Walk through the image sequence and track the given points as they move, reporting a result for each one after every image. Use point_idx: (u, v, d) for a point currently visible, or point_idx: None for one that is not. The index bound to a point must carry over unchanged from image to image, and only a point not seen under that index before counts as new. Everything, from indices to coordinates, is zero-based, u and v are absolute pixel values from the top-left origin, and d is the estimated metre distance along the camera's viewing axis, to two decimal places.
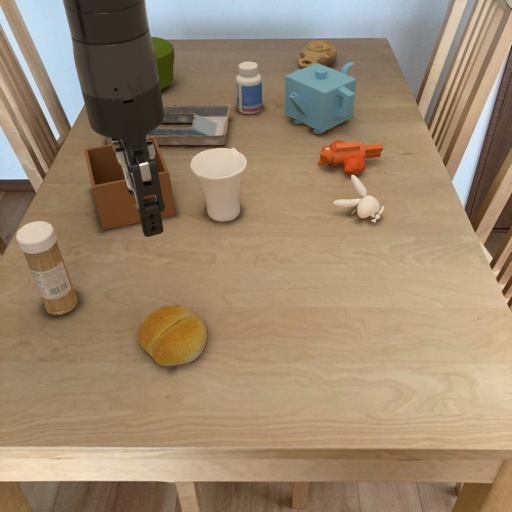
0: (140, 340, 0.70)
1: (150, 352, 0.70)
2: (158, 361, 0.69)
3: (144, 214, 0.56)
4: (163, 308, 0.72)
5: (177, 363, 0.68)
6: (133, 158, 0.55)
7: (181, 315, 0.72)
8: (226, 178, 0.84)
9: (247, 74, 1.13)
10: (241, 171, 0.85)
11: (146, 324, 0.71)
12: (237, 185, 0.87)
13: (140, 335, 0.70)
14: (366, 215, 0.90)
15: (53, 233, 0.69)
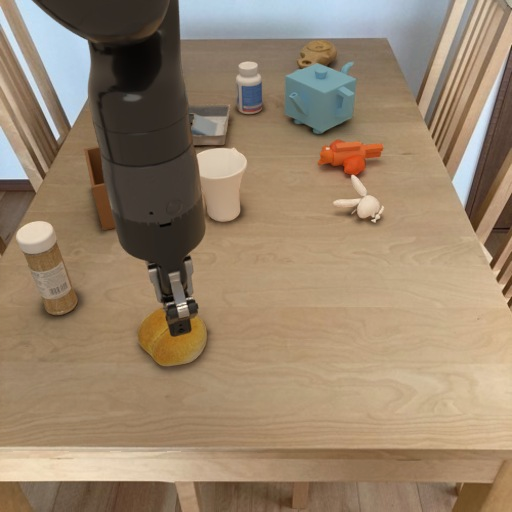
0: (140, 340, 0.70)
1: (150, 352, 0.70)
2: (158, 361, 0.69)
3: (172, 322, 0.51)
4: None
5: (177, 363, 0.68)
6: (169, 288, 0.47)
7: None
8: (226, 178, 0.84)
9: (247, 74, 1.13)
10: (241, 171, 0.85)
11: (146, 324, 0.71)
12: (237, 185, 0.87)
13: (140, 335, 0.70)
14: (366, 215, 0.90)
15: (53, 233, 0.69)
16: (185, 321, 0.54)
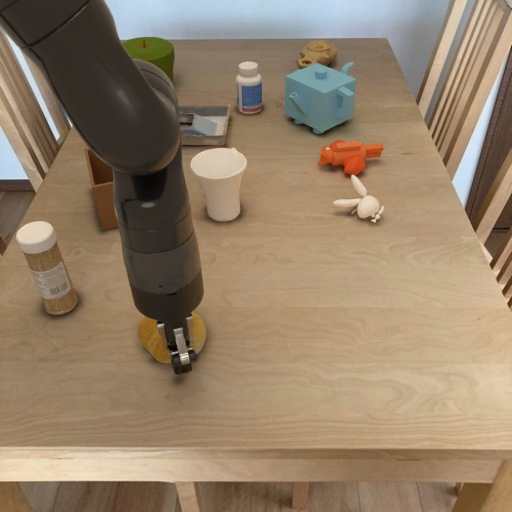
0: (140, 337, 0.71)
1: (150, 349, 0.70)
2: (158, 358, 0.69)
3: None
4: None
5: None
6: (174, 341, 0.58)
7: None
8: (226, 178, 0.84)
9: (247, 74, 1.13)
10: (241, 171, 0.85)
11: (146, 322, 0.71)
12: (237, 185, 0.87)
13: (140, 333, 0.71)
14: (366, 215, 0.90)
15: (53, 233, 0.69)
16: None
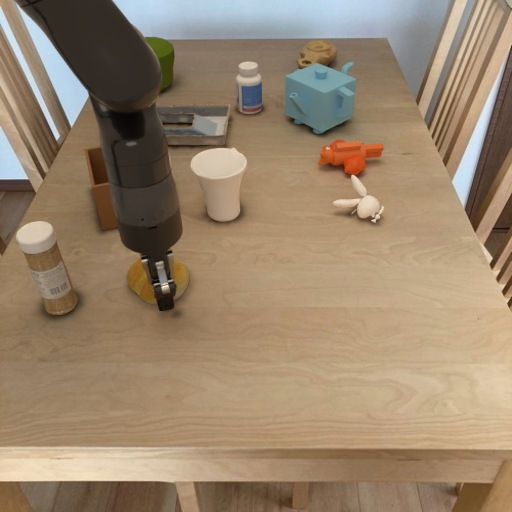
0: (128, 280, 0.78)
1: (137, 291, 0.78)
2: (144, 298, 0.77)
3: (158, 299, 0.70)
4: None
5: None
6: (156, 273, 0.66)
7: None
8: (226, 178, 0.84)
9: (247, 74, 1.13)
10: (241, 171, 0.85)
11: (134, 267, 0.79)
12: (237, 185, 0.87)
13: (129, 276, 0.79)
14: (366, 215, 0.90)
15: (53, 233, 0.69)
16: (169, 299, 0.73)
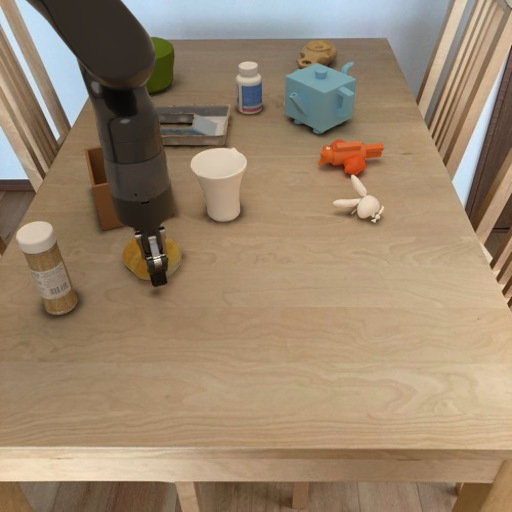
0: (123, 258, 0.82)
1: (132, 269, 0.82)
2: (138, 275, 0.80)
3: (151, 273, 0.73)
4: None
5: None
6: (149, 247, 0.69)
7: None
8: (226, 178, 0.84)
9: (247, 74, 1.13)
10: (241, 171, 0.85)
11: (129, 245, 0.82)
12: (237, 185, 0.87)
13: (124, 254, 0.82)
14: (366, 215, 0.90)
15: (53, 233, 0.69)
16: (162, 274, 0.76)
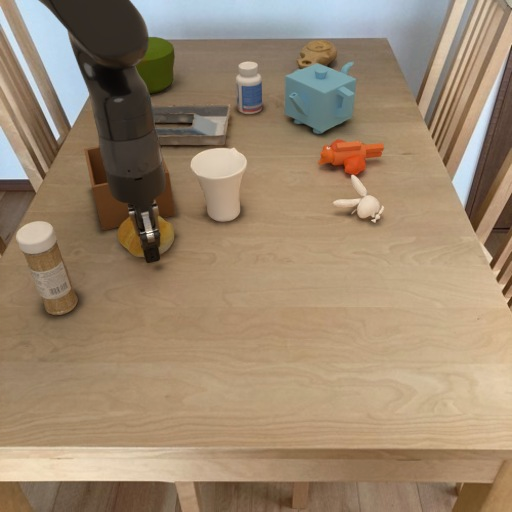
0: (119, 237, 0.86)
1: (127, 246, 0.85)
2: (133, 252, 0.84)
3: (145, 248, 0.77)
4: None
5: None
6: (142, 222, 0.73)
7: None
8: (226, 178, 0.84)
9: (247, 74, 1.13)
10: (241, 171, 0.85)
11: (124, 224, 0.86)
12: (237, 185, 0.87)
13: (119, 233, 0.86)
14: (366, 215, 0.90)
15: (53, 233, 0.69)
16: (155, 251, 0.80)
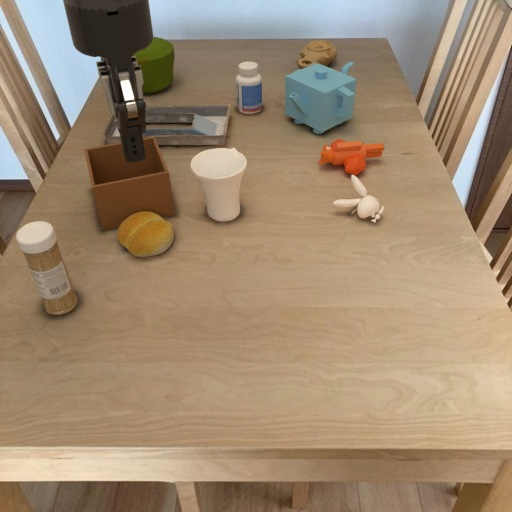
0: (118, 236, 0.86)
1: (127, 246, 0.85)
2: (133, 252, 0.84)
3: (124, 133, 0.56)
4: (138, 212, 0.87)
5: (148, 253, 0.84)
6: (119, 87, 0.52)
7: (153, 218, 0.87)
8: (226, 178, 0.84)
9: (247, 74, 1.13)
10: (241, 171, 0.85)
11: (124, 224, 0.86)
12: (237, 185, 0.87)
13: (119, 233, 0.86)
14: (366, 215, 0.90)
15: (53, 233, 0.69)
16: (138, 142, 0.59)
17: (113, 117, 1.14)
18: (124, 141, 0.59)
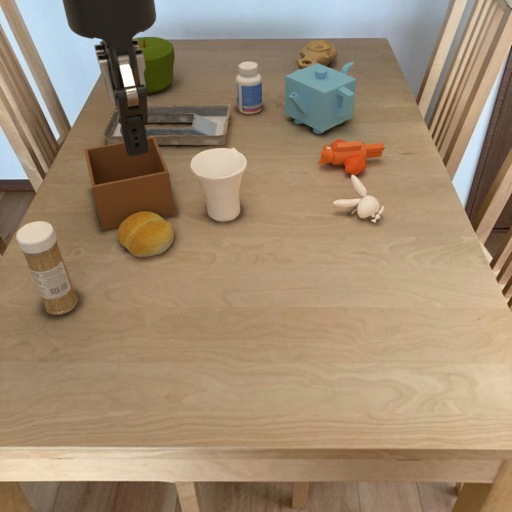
0: (118, 236, 0.86)
1: (127, 246, 0.85)
2: (133, 252, 0.84)
3: (124, 123, 0.51)
4: (138, 212, 0.87)
5: (148, 253, 0.84)
6: (118, 72, 0.47)
7: (153, 218, 0.87)
8: (226, 178, 0.84)
9: (247, 74, 1.13)
10: (241, 171, 0.85)
11: (124, 224, 0.86)
12: (237, 185, 0.87)
13: (119, 233, 0.86)
14: (366, 215, 0.90)
15: (53, 233, 0.69)
16: (140, 134, 0.54)
17: (113, 117, 1.14)
18: (125, 132, 0.54)
